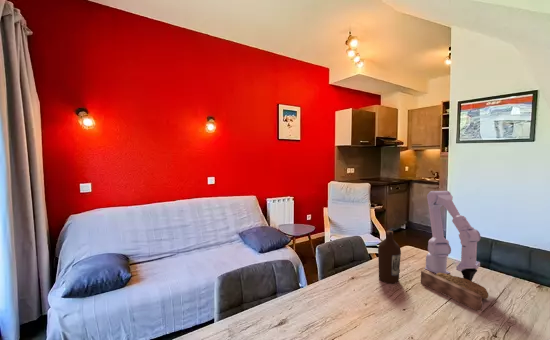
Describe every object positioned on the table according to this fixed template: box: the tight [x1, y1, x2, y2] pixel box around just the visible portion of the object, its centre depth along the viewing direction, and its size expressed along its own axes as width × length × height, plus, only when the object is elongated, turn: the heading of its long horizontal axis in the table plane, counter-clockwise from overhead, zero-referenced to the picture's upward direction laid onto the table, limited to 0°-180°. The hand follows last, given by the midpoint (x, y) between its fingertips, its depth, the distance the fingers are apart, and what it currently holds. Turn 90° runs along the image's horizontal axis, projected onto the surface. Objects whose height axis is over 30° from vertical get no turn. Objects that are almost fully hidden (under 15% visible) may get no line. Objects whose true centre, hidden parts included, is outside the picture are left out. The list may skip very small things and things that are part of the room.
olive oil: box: [377, 230, 402, 285], centre depth 135 cm, size 11×11×25 cm
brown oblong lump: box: [435, 272, 489, 300], centre depth 123 cm, size 13×8×20 cm
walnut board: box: [420, 269, 483, 312], centre depth 120 cm, size 26×2×6 cm, turn 23°
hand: (467, 282), depth 126 cm, fingers closed
